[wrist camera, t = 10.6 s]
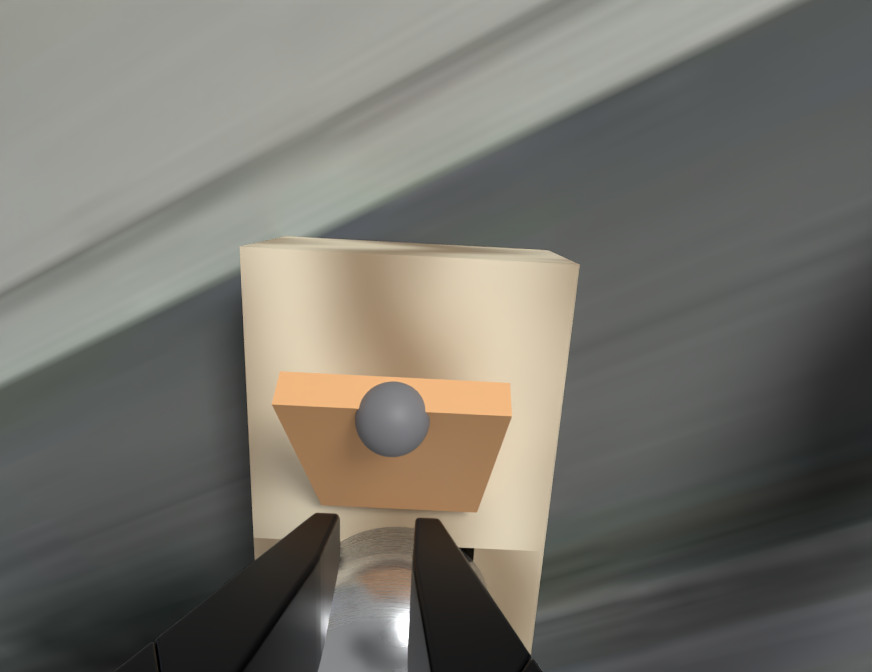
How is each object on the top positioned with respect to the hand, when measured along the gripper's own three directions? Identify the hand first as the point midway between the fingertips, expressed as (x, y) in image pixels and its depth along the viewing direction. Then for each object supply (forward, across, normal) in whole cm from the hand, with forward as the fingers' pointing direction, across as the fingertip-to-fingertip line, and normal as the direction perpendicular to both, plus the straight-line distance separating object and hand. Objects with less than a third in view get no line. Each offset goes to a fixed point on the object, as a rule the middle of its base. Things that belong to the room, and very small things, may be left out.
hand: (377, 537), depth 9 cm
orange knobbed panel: (+5, 0, +1) cm, 5 cm away
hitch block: (+12, 0, +4) cm, 13 cm away
